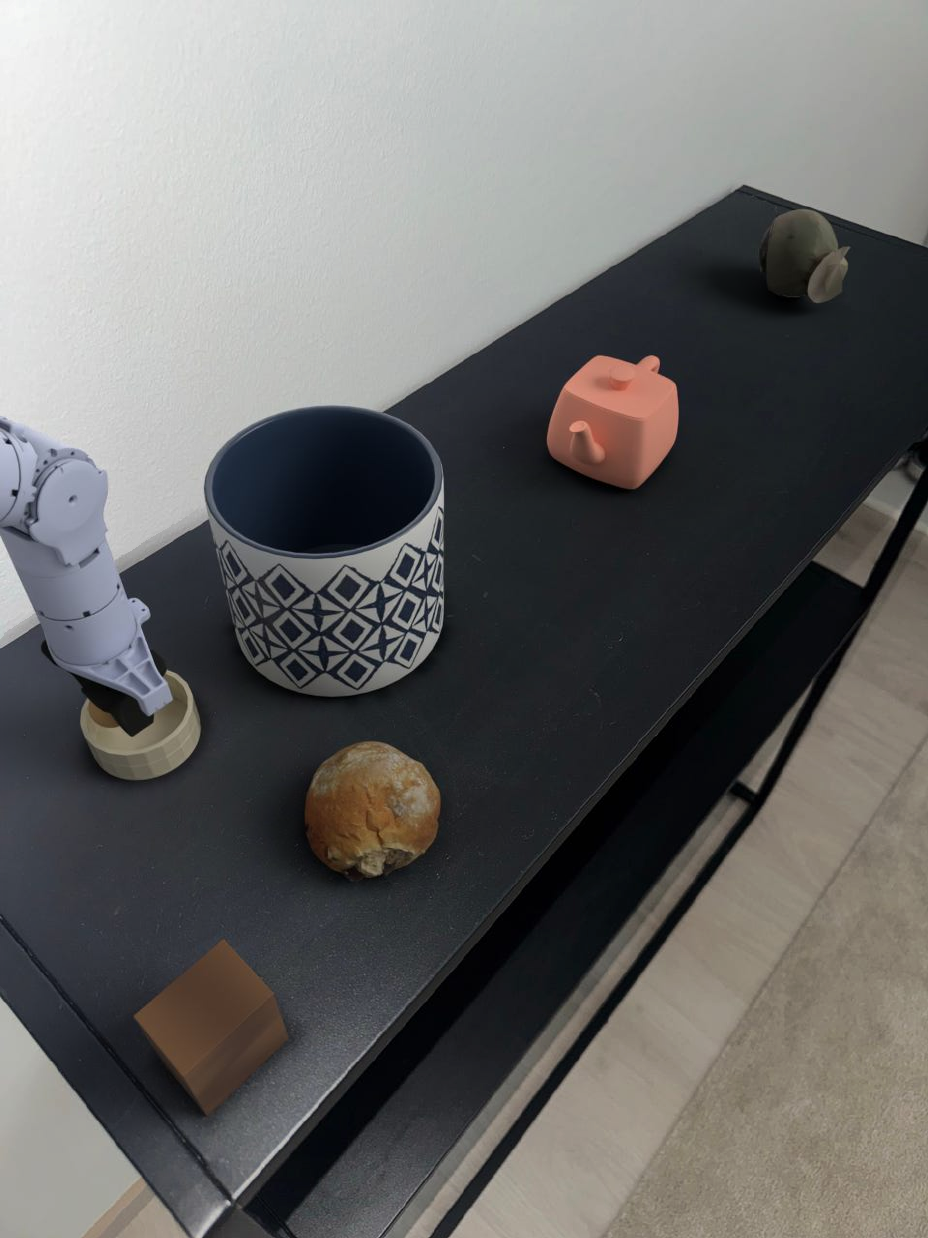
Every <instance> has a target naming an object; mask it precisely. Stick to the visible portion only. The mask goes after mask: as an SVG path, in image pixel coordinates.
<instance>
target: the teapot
mask: <svg viewBox="0 0 928 1238" xmlns="http://www.w3.org/2000/svg"><path fill="white" fill-rule="evenodd" d="M660 364H661V362H660V359H659V357H658V356H655V355H651V354H650V355H648V356H645V357H644V358H642V359H641V360H640V361H639V362H638V363H635V364H634V363H631V362H628V361H626V360H622V359H618V358H614V357H611V356H607V355H596V356H594V357H592V358H591V359H590V360H589V361H588V362H586V364H584V365H582V367H581V368H580V369H579V370H578V371H577V372H576V373H574V375H573V376H571V378H570V379H569V380H568V381H566V383H565V384H564V386H563V387H562V389H561V391H560V392H559V395H558V398H557V400H556V403H555V406H554V408H553V411H552V414H551V417H550V421H549V424H548V429H547V436H546V445H547V448H548V451H549V454H550V456H551V457H552V458H553V459H554V460H556V461H557V462H559V463H561V464H562V465H564V466H565V467H568V468H570V469H571V470H573V471H576V472H577V473H579V474H582V475H584V476H586V477H588V478H591V479H593V480H596V481H599V482H602V483H605V484H608V485H611V486H615V487H618V488H621V489H627V490H635V489H637V488H639V487H640V486H641V485H642V484H643V483H645V482H646V480H647V479H648V478H649V477H650V476H651V475H653V473H654V472H655V471H656V469H657V468H658V467H659V466H660V465H661V463H662V462H663V460H664V459H665V458H666V457H667V455H668V454H669V452H670V451H671V450H672V447H673V446H674V444H675V442H676V438H677V435H678V426H679V411H680V410H679V398H678V390H677V389H678V388H677V385H676V383H675V382H674V381H673V380H672V379H670V378H667V377H666V376H664V375H662V374H660V373H659V369H660Z"/></svg>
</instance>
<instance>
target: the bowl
mask: <svg viewBox="0 0 928 1238" xmlns="http://www.w3.org/2000/svg"><path fill="white" fill-rule="evenodd" d="M163 679H164V680H165V681H166V682H167V683H168V686H169V689H170V692H171V695H172V698H173V700H172V701H171V702H169V703H168V704H166V705H165V706H164V707H162V708H161V709H160V710H158V711H156V712H155V713H154V722H153V723H152V724H151V725H150V726H148V727H147V728H145V729H144V730H142V731H141V732H139V733H138V734H137V735H135V736H134V737H130V736H129V735H128V734H127V733H126V732H125V731H124V730H123V729H122V728H121V727H120V726H119V727H116V728H105V727H102V726H100V725H98V724H97V723H95V722H94V721H93V720H92V718H91V716H90V714H89V709H88V706H89V701H90V700H89V699H88V698H87V697H86V700H85V701H84V704H83V706H82V708H81V711H80V719H79V721H80V722H79V725H80V729H81V731H82V734H83V736H84V739H85V742H86V743H87V746H88V747H89V749H90V752H91V754H92V756H93V758H94V760H95V761H96V762H97V764H98V765H99V767H100V768H101V769H102V770H103V771H105V773H108V774H109V775H111V776H113V777H116V778H119V779H123V780H127V781H144V780H151V779H154V778H158V777H160V776H163V775H166V774H168V773H171V772H172V771H173V770H176V769H177V768H179V766H180V765H182V764H183V763H184V762H185V761H186V760H187V759H188V758H189V757H191V755H192V753H193V752H194V750H195V749H196V747H197V745H198V744H199V740H200V736H201V729H202V726H201V725H202V724H201V719H200V718H201V717H200V714H199V711H198V707H197V705H196V701H195V697H194V695H193V693H192V691H191V688H190V686H189V683H188V682H187V681H185V680H184V679H183V678H182V677H181V676H180V675H179V674H178V673H176V672H173V671H171V670H168V669H167V671H166V673H165V675H164V676H163Z"/></svg>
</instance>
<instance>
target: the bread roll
mask: <svg viewBox="0 0 928 1238" xmlns="http://www.w3.org/2000/svg"><path fill="white" fill-rule="evenodd" d="M441 803H442V802H441V793H440V790H439V788H438V787H437V784H436V783H435V781H434V780H433V778H432V776H431V774H430V772H429V771H428V770H427V769H426V767H425V766H424V764H423V763H421V762H419V761H417V760H415V759H413V758H411V757H409V756H408V755H407V754H406V753H404V752H403V751H401V750H399V749H397V748H396V747H394V746H392V745H390V744H388V743H385V742H381V741H373V740H368V741H360V742H356V743H353V744H351V745H349V746H346V747H343V748H342V749H340V750H338V751H336V752H335V753H334V754H333V755H332V756H330V757H328V758H327V759H325V760H324V761H323V762H322V763H321V764H320V765H319V766H318V768H317V769H316V771H315V773H314V775H313V777H312V779H311V783H310V784H309V788H308V791H307V794H306V797H305V805H304V825H305V826H304V828H305V832H306V833H305V834H306V836H307V839H308V843H309V847H310V848H311V850H312V852H313V853H314V854H315V855H316V857H317V858H318V859H319V860H320V861H321V862H323V864H325V865H327V866H328V868H330V869H331V870H333V871H335V872H337V873H340V874H342V875H343V876H345V878H347V880H349V881H351V882H356V883H358V882H360V881H361V880H363V879H364V878H366V879H373V878H376V877H379V876H381V877H386V876H387V875H389V874H391V873H392V872H393V871H395V870H398V869H400V868H403V867H407V866H408V865H409V864H411V863H412V862H414V861H415V860H416V859H418V857H420V856H421V855H424V854H425V853H426V851H427V850H428V849H429V848H430V846H431V845H432V844H433V843H434V841H435V839H436V837H437V833H438V830H439V822H438V819H439V817H440V813H441Z"/></svg>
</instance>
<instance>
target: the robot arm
mask: <svg viewBox="0 0 928 1238" xmlns="http://www.w3.org/2000/svg"><path fill="white" fill-rule="evenodd" d="M108 493H109V478H108V472H107V470H106V469H103V470H101V468H99V467H97V466H96V464H95V462H94V460H93V459H92V458H91V457H89V454H87V453H86V452H85V451H83V450H81V449H79V448H77V447H75V446H72V445H71V444H68V443H66V442H63V441H61V440H59V439H56V438H54V437H52V436H50V435H48V434H45V433H43V432H41V431H38V430H36V429H34V428H32V427H30V426H27V425H26V424H22V423H18V422H16V421H13V420H11V419H8V417H6V416H4V415H0V538H1V540H2V543H3V545H4V547H5V549H6V552H7V554H8V557H9V559H10V560H11V563H12V565H13V567H14V570H15V571H16V574H17V576H18V578H19V580H20V583H21V584H22V587H23V589H24V591H25V593H26V596H27V598H28V599H29V602H30V604H31V606H32V609H33V611H34V613H35V615H36V617H37V620H38V622H39V625H40V626H41V628H42V630H43V634H44V637H45V639H44V640H43V641H42V642H41V645H40V651H41V653H42V654H43V655H44V656H45V657H46V658H47V659H48V660H49V661H50V662H51V664H53V665H54V666H56V667H59V668H61V669H62V670H64V671H66V672H67V673H68V674H70V675H72V677H73V678H74V679H75V680H76V681H77V682H78V684H79V685H80V686H81V688H80V691H81V693H82V695H83V696H84V697H86V699H87V698H88V699H89V700H90V701H91V702H92V703H93V704H94V705H95V706H96V707H98V708H99V709H101V710H102V711H104V712H107V713H110V714H111V715H112V717H113V718H114V719H115V721H116V722H117V724H118V725H119V726H120V727H121V728H122V729H123V730H124V731H125V732H126V733H127V734H128V735H129V736H130V737H134V736H135V735H137V734H138V733H139V732H141V731H142V730H144V729H145V728H147V727H148V726H150V725H151V724H152V723H153V722H154V713H155V712H156V711H158V710H160V709H161V708H162V707H164V706H165V705H166V704H168V703H169V702H171V701H172V700H173V698H172V695H171V692H170V689H169V686H168V683H167V682H166V681H165V680H164V679H163V676H164V675H165V673H166V671H167V670H168V668H167V664H166V660H165V659H164V658H163V657H162V656H161V655H160V654H159V653H158V652H157V651H156V650H155V649H153V648H149V645H148V643H147V640H146V637H145V634H144V632H143V629H142V625H143V623H145V622H147V621H148V620H149V619H150V618H151V612H150V609H149V607H148V606H147V605H146V604H145V603H144V602H143V601H141V600H140V599H139V598H138V597H137V598H136V597H131V598H128V597H127V592H126V590H125V588H124V584H123V582H122V579H121V576H120V573H119V570H118V567H117V564H116V561H115V559H114V556H113V553H112V550H111V547H110V544H109V541H108V539H107V537H106V533H107V532H108V531H109V530H108V528H107V524H106V521H105V517H104V512H105V507H106V506H105V505H106V502H107V498H108Z"/></svg>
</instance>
